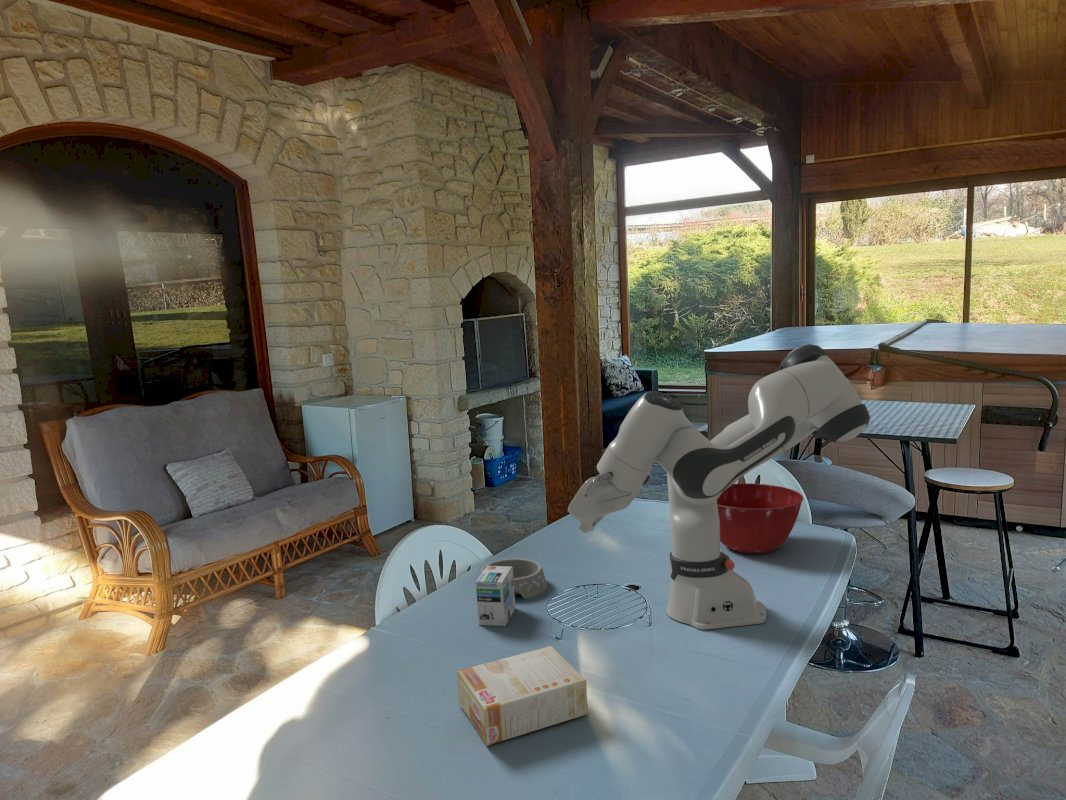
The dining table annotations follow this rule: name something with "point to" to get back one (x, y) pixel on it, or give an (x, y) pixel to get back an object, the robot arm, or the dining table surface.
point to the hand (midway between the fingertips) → (585, 530)
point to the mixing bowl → (757, 516)
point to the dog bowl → (524, 576)
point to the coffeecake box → (521, 694)
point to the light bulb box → (495, 595)
